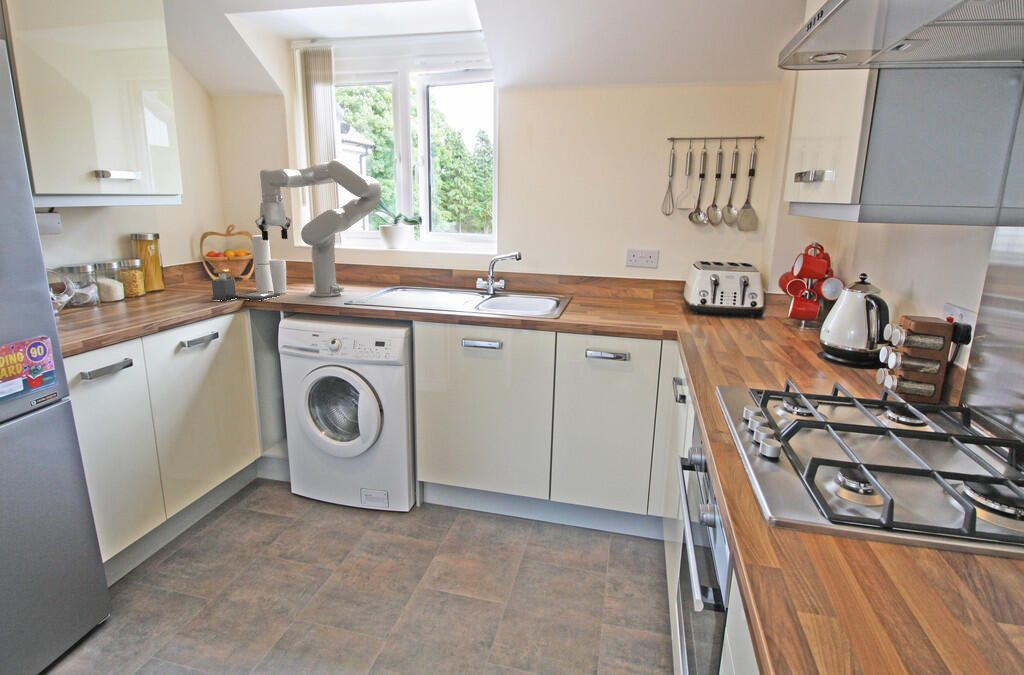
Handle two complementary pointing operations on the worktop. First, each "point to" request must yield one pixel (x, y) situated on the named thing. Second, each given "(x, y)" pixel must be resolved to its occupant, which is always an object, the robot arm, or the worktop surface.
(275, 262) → the drinking glass
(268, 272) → the cylindrical container
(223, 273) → the plunger
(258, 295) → the press base
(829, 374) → the worktop surface
